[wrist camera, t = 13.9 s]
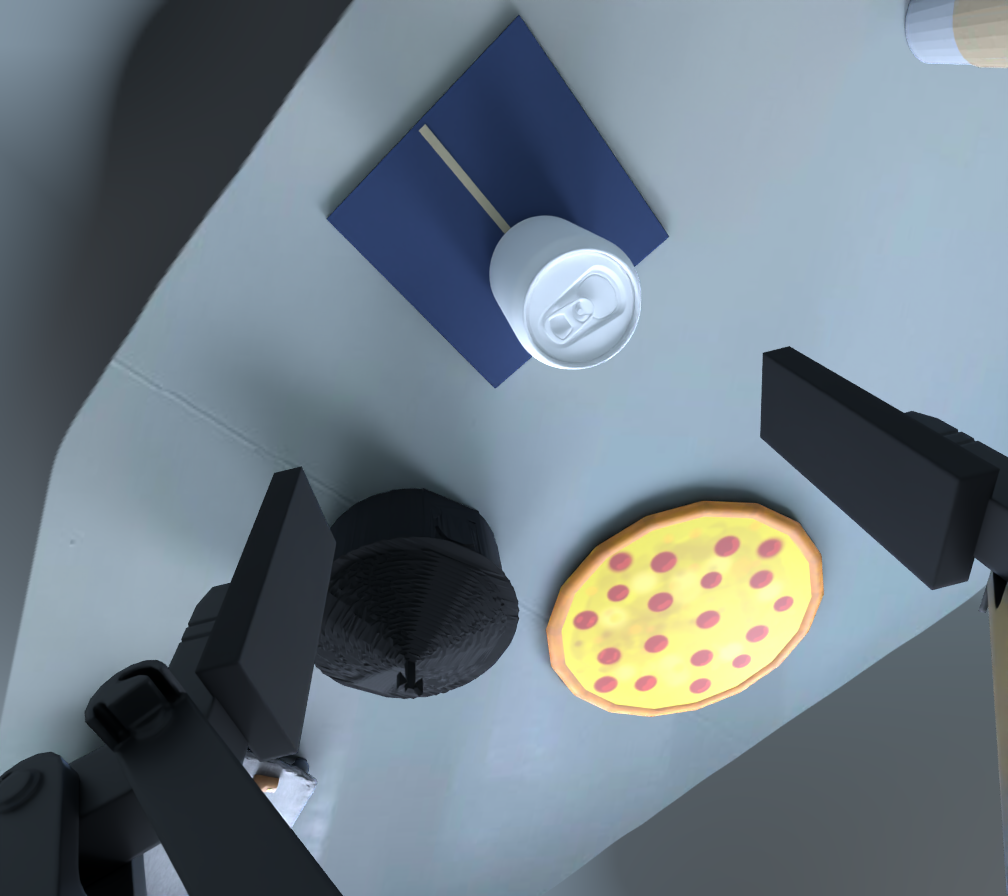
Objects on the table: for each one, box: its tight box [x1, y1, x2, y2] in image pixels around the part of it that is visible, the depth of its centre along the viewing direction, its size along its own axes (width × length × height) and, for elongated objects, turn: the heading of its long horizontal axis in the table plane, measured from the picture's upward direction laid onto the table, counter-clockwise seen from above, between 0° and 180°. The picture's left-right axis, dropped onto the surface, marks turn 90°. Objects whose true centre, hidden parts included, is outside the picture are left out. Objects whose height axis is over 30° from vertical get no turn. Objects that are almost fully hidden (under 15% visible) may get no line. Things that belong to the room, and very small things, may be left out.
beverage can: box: [489, 216, 641, 369], centre depth 39 cm, size 8×8×12 cm
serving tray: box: [105, 744, 317, 896], centre depth 68 cm, size 39×23×6 cm, turn 151°
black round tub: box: [314, 488, 519, 699], centre depth 50 cm, size 18×18×15 cm
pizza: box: [546, 501, 824, 717], centre depth 64 cm, size 32×32×1 cm
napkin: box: [327, 15, 669, 388], centre depth 42 cm, size 18×18×1 cm
